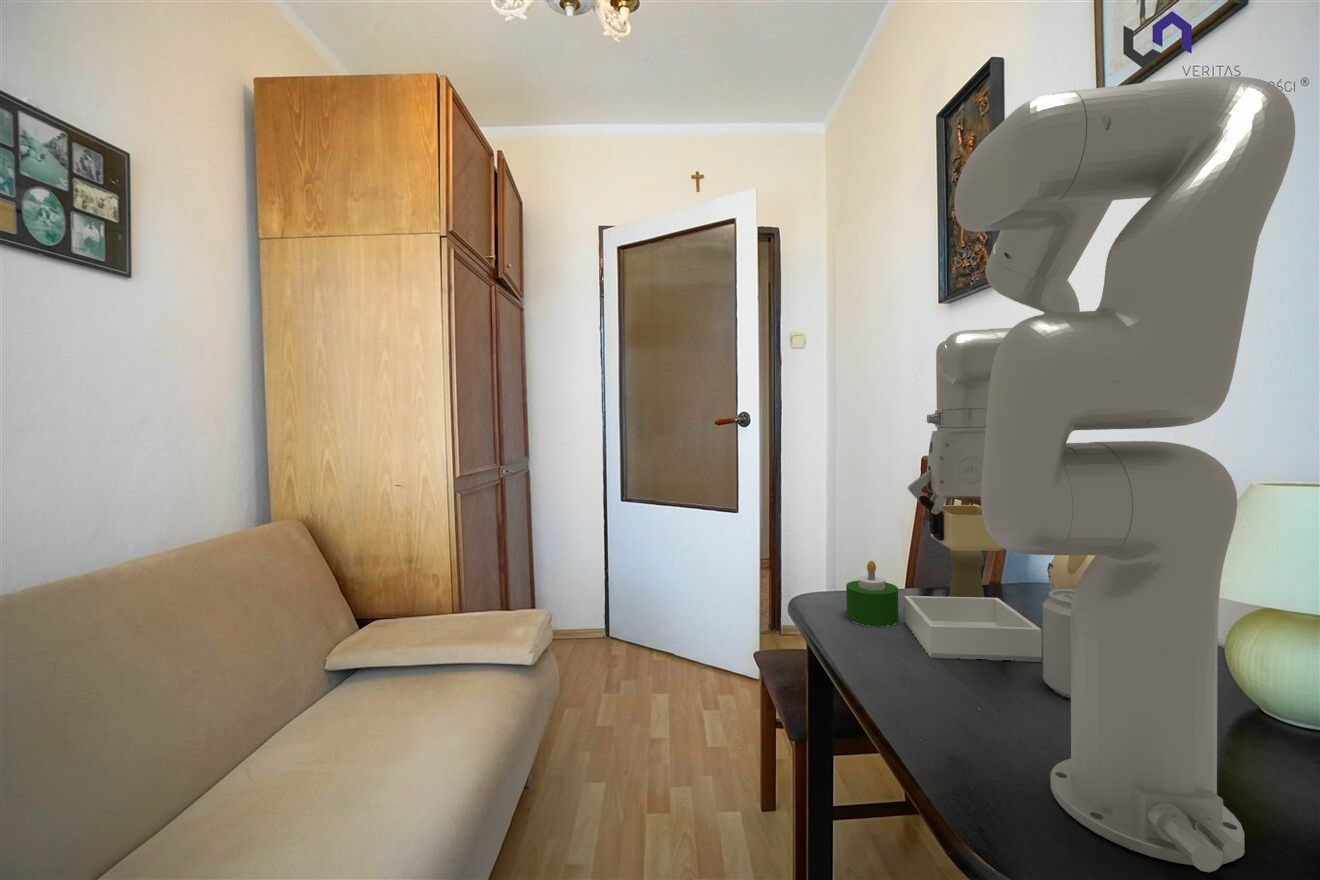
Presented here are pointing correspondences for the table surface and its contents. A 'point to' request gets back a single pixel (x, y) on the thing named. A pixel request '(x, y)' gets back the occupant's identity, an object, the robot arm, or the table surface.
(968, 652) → the large crate
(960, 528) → the small crate
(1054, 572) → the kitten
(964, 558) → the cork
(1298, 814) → the table surface
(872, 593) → the candle
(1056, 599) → the can
